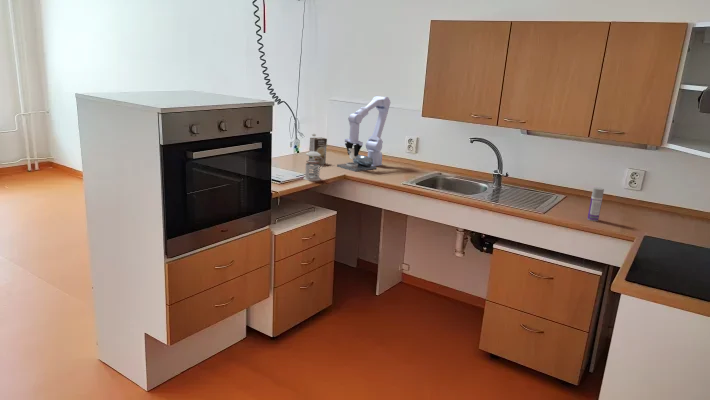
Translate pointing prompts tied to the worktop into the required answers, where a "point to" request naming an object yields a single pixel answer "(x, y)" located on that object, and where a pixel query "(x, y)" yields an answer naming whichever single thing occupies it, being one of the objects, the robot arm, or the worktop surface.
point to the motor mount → (359, 164)
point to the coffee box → (318, 149)
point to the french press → (315, 168)
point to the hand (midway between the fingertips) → (352, 155)
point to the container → (595, 204)
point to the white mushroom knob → (351, 153)
